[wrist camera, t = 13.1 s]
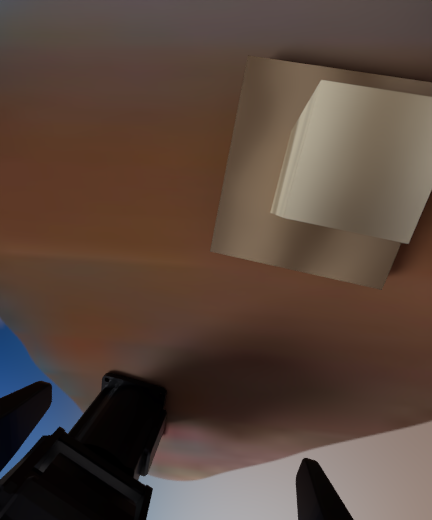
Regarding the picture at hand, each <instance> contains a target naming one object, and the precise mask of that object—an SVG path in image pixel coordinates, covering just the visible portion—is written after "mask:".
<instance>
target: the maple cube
mask: <svg viewBox="0 0 432 520" xmlns="http://www.w3.org/2000/svg"><path fill="white" fill-rule="evenodd" d="M431 190H432V97H428V96H422V95H415V94H409V93H403V92H396V91H390V90H383V89H377V88H371V87H364V86H358V85H351V84H345V83H338V82H332V81H326V80H321V81H320V83H319V84H318V86H317V88H316V90H315V91H314V93H313V95H312V96H311V98H310V100H309V101H308V103H307V105H306V107H305V108H304V110H303V112H302V113H301V115H300V117H299V119H298V120H297V122H296V124H295V125H294V127H293V129H292V130H291V134H290V138H289V141H288V145H287V149H286V153H285V157H284V161H283V165H282V169H281V173H280V177H279V180H278V184H277V188H276V192H275V196H274V200H273V204H272V208H271V212H270V213H272V214H275V215H277V216H280V217H282V218H286V219H291V220H296V221H301V222H306V223H310V224H315V225H320V226H325V227H330V228H334V229H339V230H344V231H349V232H354V233H358V234H363V235H368V236H373V237H378V238H382V239H387V240H392V241H397V242H402V243H406V244H409V242H410V239H411V237H412V235H413V232H414V230H415V228H416V225H417V223H418V221H419V218H420V216H421V214H422V211H423V209H424V207H425V204H426V202H427V200H428V197H429V195H430V193H431Z"/></svg>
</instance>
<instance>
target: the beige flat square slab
mask: <svg viewBox="0 0 432 520" xmlns="http://www.w3.org/2000/svg"><path fill="white" fill-rule="evenodd" d="M321 80H326V81H332V82H338V83H345V84H351V85H358V86H364V87H371V88H377V89H383V90H390V91H396V92H403V93H409V94H415V95H422V96H428V97H432V82H425V81H418V80H411V79H404V78H398V77H391V76H384V75H377V74H371V73H364V72H357V71H350V70H343V69H337V68H330V67H323V66H316V65H309V64H303V63H296V62H289V61H282V60H276V59H269V58H262V57H255V56H248V58H247V63H246V68H245V74H244V79H243V84H242V89H241V94H240V99H239V105H238V110H237V115H236V120H235V125H234V130H233V136H232V141H231V146H230V151H229V156H228V161H227V167H226V172H225V177H224V182H223V187H222V192H221V198H220V203H219V208H218V213H217V218H216V223H215V228H214V234H213V239H212V244H211V249H210V252H215V253H219V254H224V255H228V256H233V257H237V258H242V259H246V260H251V261H255V262H260V263H264V264H269V265H273V266H278V267H282V268H286V269H291V270H295V271H300V272H304V273H309V274H313V275H318V276H322V277H327V278H331V279H336V280H340V281H345V282H349V283H353V284H358V285H362V286H367V287H371V288H376V289H380V290H382V288H383V286H384V283H385V281H386V279H387V276H388V274H389V271H390V269H391V267H392V264H393V262H394V259H395V257H396V255H397V252H398V250H399V247H400V245H401V243H402V242H397V241H392V240H387V239H382V238H378V237H373V236H368V235H363V234H358V233H354V232H349V231H344V230H339V229H334V228H330V227H325V226H320V225H315V224H310V223H306V222H301V221H296V220H291V219H286V218H282V217H280V216H277V215H275V214H272V213H270V212H271V208H272V204H273V200H274V196H275V192H276V188H277V184H278V180H279V177H280V173H281V169H282V165H283V161H284V157H285V153H286V149H287V145H288V141H289V138H290V134H291V130H292V129H293V127H294V125H295V124H296V122H297V120H298V119H299V117H300V115H301V113H302V112H303V110H304V108H305V107H306V105H307V103H308V101H309V100H310V98H311V96H312V95H313V93H314V91H315V90H316V88H317V86H318V84H319V83H320V81H321Z"/></svg>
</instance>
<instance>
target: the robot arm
mask: <svg viewBox="0 0 432 520" xmlns="http://www.w3.org/2000/svg"><path fill="white" fill-rule="evenodd" d="M161 393H162V394H161ZM166 395H167V391H166V390H165V389H164V388H162V387H158V386H155V385H151V384H148V383H144V382H140V381H137V380H133V379H130V378H126V377H123V376H119V375H115V374H112V373H106V374H105V375H104V376H103V378H102V389H101V392H100V393H99V395H98V396H97V397H96V399H95V400H94V401H93V402H92V404H91V405H90V406H89V407H88V409H87V410H86V411H85V413H84V414H83V415H82V417H81V418H80V419H79V420H78V422H77V423H76V424H75V425H74V427H73V428H72V429H71V430H70V432H69V433H68V434H67V433H66V432H65V430H64V429H63V428H61V427H59V428H58V429H57V430H56V431H55V432H54V433H53V434H52V435H48V436H42V437H41V438H40V440H39V441H38V442H37V443H36V444H35V445H34V446H33V447H32V449H31V450H30V451H29V452H28V453H27V454H26V455H25V456H24V457H23V458H22V459H21V460H20V461H19V462H18V463H17V464H16V465H15V466H14V467H13V468H12V469H11V470H10V471H9V472H8V473H7V474H5V475H4V476H3V477H2V478H1V479H0V520H146V517H147V512H148V508H149V504H150V499H151V495H152V490H153V488H151V487H150V486H148V485H146V486H145V485H144V484H142V483H141V482H139V481H138V479H139V476H140V475H141V476H146V475H147V474H148V472H149V469H150V466H151V464H152V461H153V458H154V456H155V453H156V450H157V448H158V445H159V442H160V440H161V437H162V434H163V432H164V427H165V421H166V415H167V412H166V410H165V409H164V406H165V400H166ZM51 402H52V385H51V384H50V383H47V382H44V381H38V382H35V383H33V384H31V385H29V386H26V387H24V388H22V389H20V390H17V391H15V392H13V393H11V394H9V395H6V396H4V397H2V398H0V472H1V470H2V469H3V468H4V467H5V466H6V464H7V463H8V462H9V461H10V460H11V458H12V457H13V456H14V455H15V453H16V452H17V451H18V449H19V448H20V447H21V445H22V444H23V443H24V441H25V440H26V438H27V437H28V436H29V434H30V433H31V432H32V430H33V429H34V428H35V426H36V425H37V424H38V422H39V421H40V420H41V418H42V417H43V415H44V414H45V413H46V411H47V410H48V409H49V407H50V405H51ZM296 492H297V508H298V520H353V518H352V516H351V515H350V513H349V512H348V510H347V508H346V507H345V505H344V503H343V502H342V500H341V499H340V497H339V495H338V494H337V492H336V491H335V489H334V487H333V486H332V484H331V483H330V481H329V479H328V478H327V476H326V475H325V473H324V471H323V470H322V468H321V467H320V465H319V463H318V462H317V461H315V460H311V459H308V458H304V459H303V460H302V463H301V465H300V467H299V470H298V472H297V475H296Z"/></svg>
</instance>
